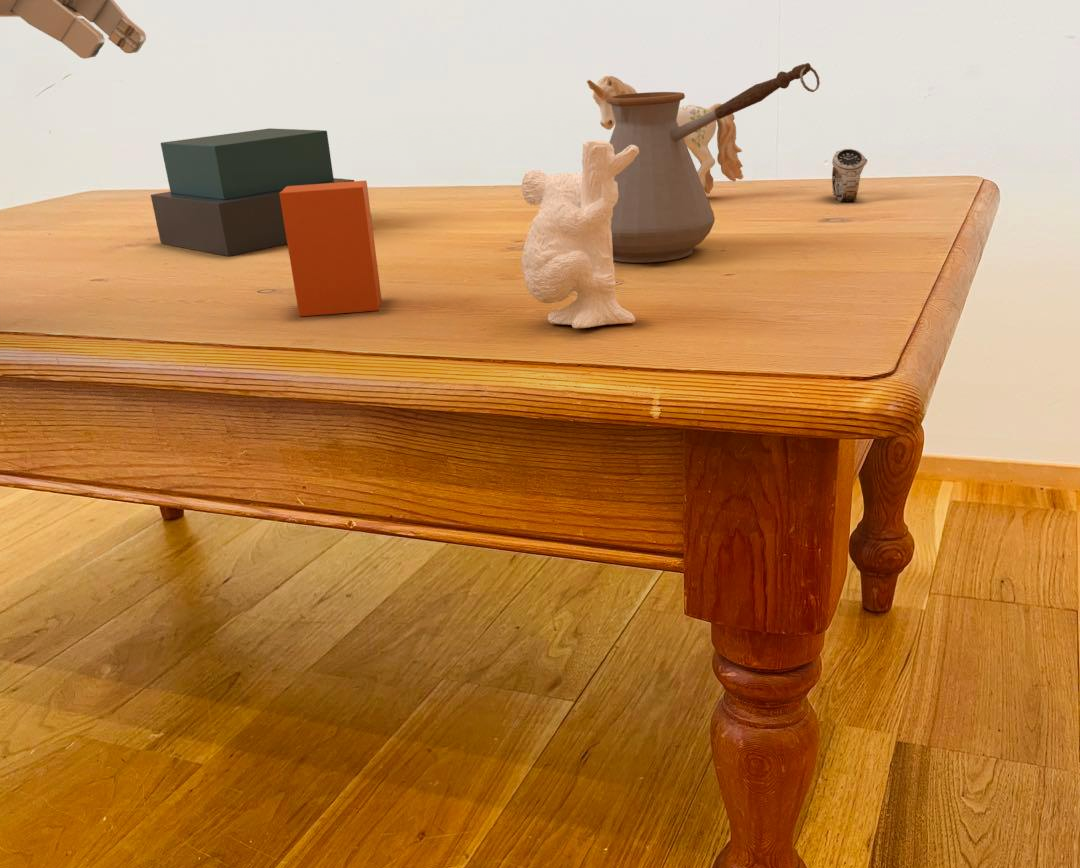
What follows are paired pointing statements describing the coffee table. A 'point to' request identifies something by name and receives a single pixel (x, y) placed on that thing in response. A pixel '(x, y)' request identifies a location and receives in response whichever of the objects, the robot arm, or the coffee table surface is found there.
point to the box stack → (236, 187)
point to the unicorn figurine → (693, 141)
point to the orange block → (331, 248)
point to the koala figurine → (576, 238)
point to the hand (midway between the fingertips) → (119, 48)
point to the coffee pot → (668, 172)
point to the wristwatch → (847, 174)
